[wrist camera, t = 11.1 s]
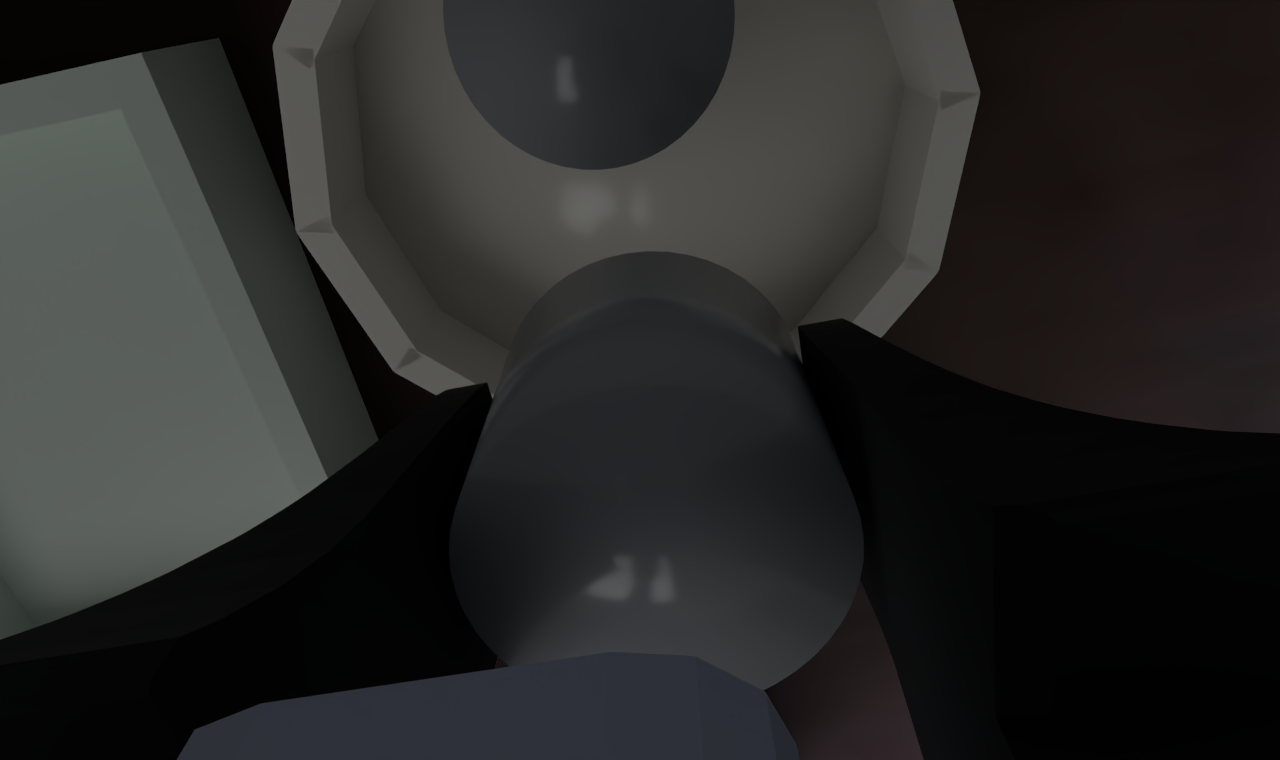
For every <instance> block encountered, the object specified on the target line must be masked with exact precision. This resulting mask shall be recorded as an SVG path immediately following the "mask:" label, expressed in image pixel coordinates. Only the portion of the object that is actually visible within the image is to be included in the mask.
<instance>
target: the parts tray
mask: <svg viewBox="0 0 1280 760" xmlns="http://www.w3.org/2000/svg"><path fill="white" fill-rule="evenodd" d="M377 441H378V437H377V435H376V432H375V430H374V427H373V425H372V422H371V420H370V417H369V415H368V412H367V409H366V407H365V404H364V402H363V399H362V397H361V394H360V392H359V389H358V387H357V384H356V382H355V379H354V377H353V374H352V372H351V369H350V367H349V364H348V362H347V359H346V357H345V354H344V352H343V349H342V346H341V344H340V341H339V339H338V336H337V334H336V331H335V329H334V326H333V324H332V321H331V319H330V316H329V314H328V311H327V309H326V306H325V304H324V301H323V299H322V296H321V294H320V291H319V289H318V286H317V283H316V281H315V278H314V276H313V273H312V271H311V268H310V266H309V263H308V261H307V258H306V256H305V253H304V251H303V248H302V246H301V243H300V241H299V238H298V236H297V233H296V231H295V228H294V226H293V223H292V221H291V218H290V215H289V213H288V210H287V208H286V205H285V203H284V200H283V198H282V195H281V193H280V190H279V188H278V185H277V183H276V180H275V178H274V175H273V173H272V170H271V168H270V165H269V163H268V160H267V158H266V155H265V152H264V150H263V147H262V145H261V142H260V140H259V137H258V135H257V132H256V130H255V127H254V125H253V122H252V120H251V117H250V115H249V112H248V110H247V107H246V105H245V102H244V100H243V97H242V95H241V92H240V90H239V87H238V84H237V82H236V79H235V77H234V74H233V72H232V69H231V67H230V64H229V62H228V59H227V57H226V54H225V52H224V49H223V47H222V44H221V42H220V39H219V38H216V39H210V40H205V41H200V42H195V43H189V44H184V45H179V46H174V47H168V48H163V49H158V50H153V51H147V52H142V53H138V54H133V55H129V56H124V57H120V58H116V59H111V60H107V61H102V62H98V63H94V64H89V65H85V66H81V67H76V68H72V69H67V70H63V71H59V72H54V73H50V74H46V75H41V76H37V77H32V78H28V79H24V80H19V81H15V82H10V83H6V84H2V85H0V640H1V639H4V638H6V637H9V636H12V635H15V634H18V633H21V632H24V631H27V630H29V629H32V628H35V627H38V626H41V625H44V624H47V623H49V622H52V621H55V620H57V619H60V618H63V617H65V616H68V615H70V614H73V613H76V612H78V611H81V610H83V609H85V608H88V607H90V606H93V605H95V604H98V603H100V602H102V601H105V600H107V599H110V598H112V597H115V596H117V595H119V594H122V593H124V592H126V591H129V590H131V589H133V588H135V587H137V586H140V585H142V584H144V583H146V582H149V581H151V580H153V579H155V578H158V577H160V576H162V575H164V574H166V573H168V572H170V571H172V570H174V569H176V568H178V567H180V566H182V565H184V564H186V563H188V562H190V561H192V560H194V559H195V558H197V557H199V556H201V555H203V554H205V553H207V552H209V551H211V550H213V549H215V548H217V547H219V546H221V545H223V544H225V543H227V542H229V541H230V540H232V539H234V538H236V537H238V536H240V535H241V534H243V533H245V532H247V531H248V530H250V529H252V528H253V527H255V526H257V525H258V524H260V523H262V522H263V521H265V520H267V519H268V518H270V517H272V516H273V515H275V514H277V513H278V512H280V511H281V510H283V509H284V508H286V507H288V506H289V505H291V504H292V503H294V502H295V501H297V500H298V499H300V498H301V497H303V496H304V495H306V494H307V493H309V492H310V491H311V490H313V489H314V488H316V487H317V486H318V485H320V484H321V483H322V482H324V481H325V480H326V479H328V478H329V477H330V476H332V475H333V474H335V473H336V472H337V471H339V470H340V469H341V468H343V467H344V466H345V465H347V464H348V463H349V462H351V461H352V460H354V459H355V458H356V457H358V456H359V455H360V454H362V453H363V452H364V451H365V450H367V449H368V448H369V447H370V446H372V445H373V444H374V443H375V442H377Z"/></svg>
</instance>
